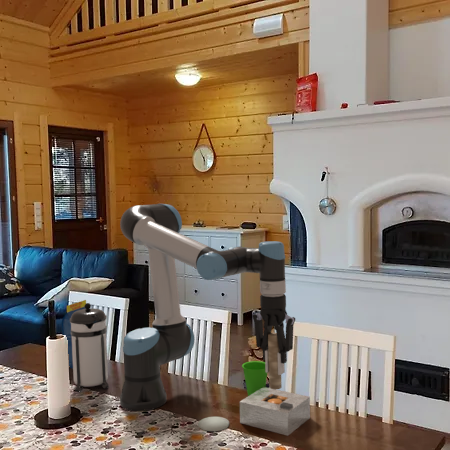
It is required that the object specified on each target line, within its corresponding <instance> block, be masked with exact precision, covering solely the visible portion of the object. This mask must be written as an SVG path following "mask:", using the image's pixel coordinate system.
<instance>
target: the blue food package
mask: <svg viewBox="0 0 450 450" xmlns="http://www.w3.org/2000/svg"><path fill="white" fill-rule="evenodd" d="M86 303H87V300H86V299H84V300H81V301H78V302H74V303H72V304H68V305H66V312H65V314H64V316H63V317H62V320H61V336H62V335H66V337H67V340H68V354H69V366H70V368H69V369H73V356H72V335H71V323H70V318H71V316H72V314H73V313H74V312H76V311H78V310H82V309H86V308H85V307H84V306H85V304H86Z"/></svg>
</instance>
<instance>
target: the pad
mask: <svg viewBox="0 0 450 450" xmlns="http://www.w3.org/2000/svg"><path fill="white" fill-rule="evenodd" d="M228 427H230V421H229V419H227V418H225V417H222V416H208V417H205V418H202V419H201V420H199V421H198V428H199V429H201V430H203V431H205V432H221V431H224V430H226V429H227V428H228Z"/></svg>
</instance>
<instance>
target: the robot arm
mask: <svg viewBox="0 0 450 450" xmlns="http://www.w3.org/2000/svg"><path fill="white" fill-rule="evenodd" d="M119 225H120V230H121V233H122V235H123V236H124V237H125V238H126V239H128V240H129V241H130V242H132V243H134V244H136V245H138V246H144V247H145V248H146V249H148V255H149V256H148V257H149V267H150V276H151V284H152V293H153V303H154V311H155V319H153V322H152V323H151V324H152V325H151V326H152V327H142V328H136V329H134V330H132V331H129V332H128V333H126V334H125V335H124V338H123V344H122V352H123V353H122V354H123V367H124V370H123V371H124V372H123V373H124V381H123V386H122V389H121V393H120V397H119V403H120V406H121V407H122V408H123V409H125V410H128V411H137V412H142V411H149V410H154V409H157V408H160V407H162V406H164V405H165V404H166V402H167V392H166V390H165V388H164V384H163V381H162V378H161V366H163V365H165V364H168V363H170V362H173V361H176V360H180V359H182V358H183V357H185V356H187V355H189V354H190V353H191V352H192V350H193V348H194V345H195V341H196V340H195V332H194V330H193V329H192V328H191V325H190V324H188V323H187V320H186V318H185V317H184V316H183V315H182V314H181V305H180V304H181V303H180V297H179V296H180V295H179V287H178V279H177V270H176V261H175V260H177V261H179V262H181V263H184V264H185V265H188V266H189V267H192V268H194V269H196V271H197V273H198V274H199V276H200V277H201V278H202V279H204V280H207V281H209V280H210V281H212V280H219V279H222V278H227V277H231V276H235V275H238V274H239V275H240V274H244V273H251V274H252V273H253V274H259V291H260V297H259V300H260V303H259V305H260V308H261V309H260V312H257V313H255V314H253V315H251V316H252V319H253V321H254V331H255V343H256V347H257V348H261V350H262V360H263V361H264V362H265V371H266V372H267V374H269V354H268V334H269V333H272V329H273V327H274V330H275V331H276V332H275V333H277V339H278V344H279V349H280V351H279V352H278V353H277V354H278V375H281V376H282V375H283V374H285V373H286V372H285V371H286V370H285V363H287V361H288V356H287V354H288V352H290V351H291V350H293V349H294V348H293V347H294V324H295V322H296V317H294V316H289V314H288V313H287V309H286V308H287V296H286V293H287V291H286V290H287V288H286V286H287V285H286V255H285V244H284V242H282V241H271V240H270V241H268V240H267V241H261V242H259V243H258V247H248V246H247V247H244V246H231V247H229V248H228V249H226V250H218V249H215V248H213V247H211V246H210V245H209V246H208V245H207V244H204V243H202V242H199V241H198V240H195V239H193V238H191V237H188V236H186V235H184V234H182V233H180V232H181V230H182V227H183V221H182V216H181V214H180V213H179V211H178V210H177V209H176V208H175V207H174V205H172V204H166V203H156V204H155V203H154V204H143V205H142V204H140V205H133V206H131V207H129V208H128V209H126V210H125V211H124V212H123V214H122V216H121V218H120V224H119ZM284 322H285V324H286V325H285V324H284ZM284 329H285V330H284Z"/></svg>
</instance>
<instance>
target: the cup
mask: <svg viewBox="0 0 450 450" xmlns="http://www.w3.org/2000/svg"><path fill="white" fill-rule="evenodd" d="M241 369H243V375H244V380H245V386H246V391H247V392H246V393H247V397H248V396H250V395H251V394H253V393H254V392H256V391H258V390H259V389H261V388H263V387H267V378H268V373H267V372H266V371H265V361H260V360H251V361H246V362H244V363H243V364H242V365H241Z"/></svg>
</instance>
